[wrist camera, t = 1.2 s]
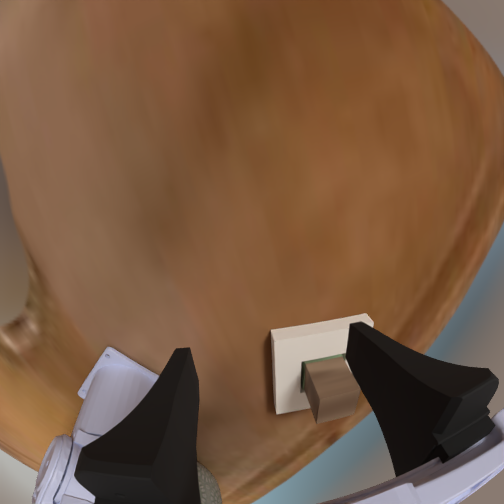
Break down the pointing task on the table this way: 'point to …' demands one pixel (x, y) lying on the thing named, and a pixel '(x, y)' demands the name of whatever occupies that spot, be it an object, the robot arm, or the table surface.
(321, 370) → the post
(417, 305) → the table surface
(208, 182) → the table surface
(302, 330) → the sleeve block
